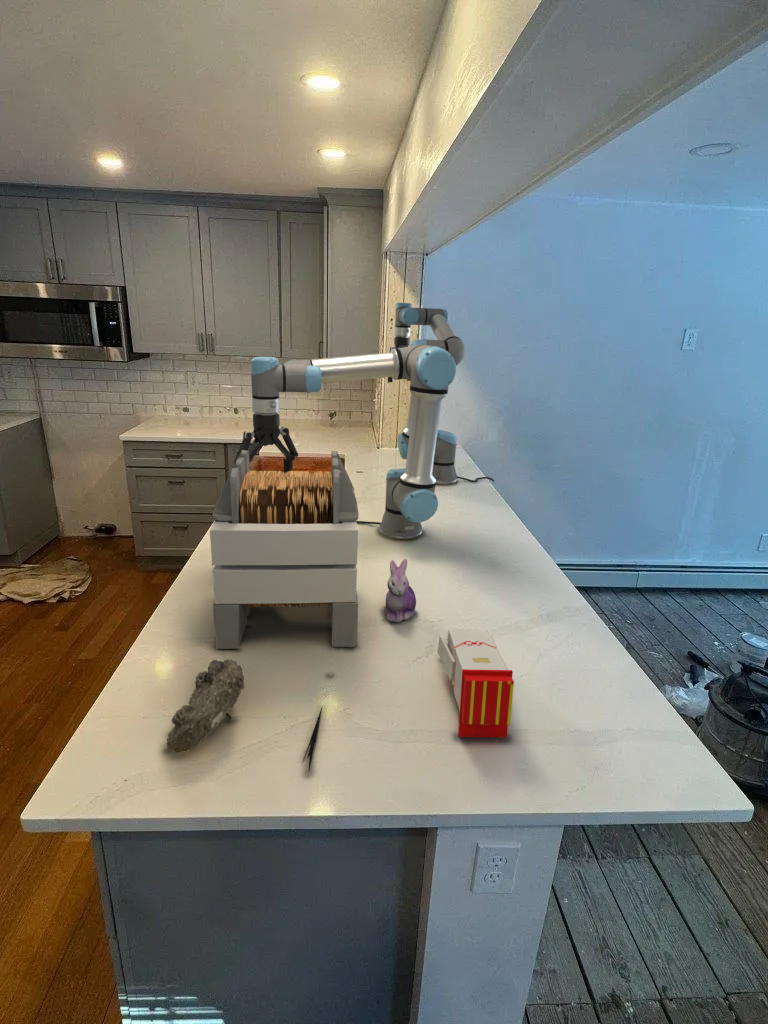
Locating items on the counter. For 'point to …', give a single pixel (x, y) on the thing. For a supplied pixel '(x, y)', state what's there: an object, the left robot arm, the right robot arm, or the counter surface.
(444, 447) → the right robot arm
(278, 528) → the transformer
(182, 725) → the fossil
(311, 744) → the feather
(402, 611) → the figurine
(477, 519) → the counter surface
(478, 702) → the toy
